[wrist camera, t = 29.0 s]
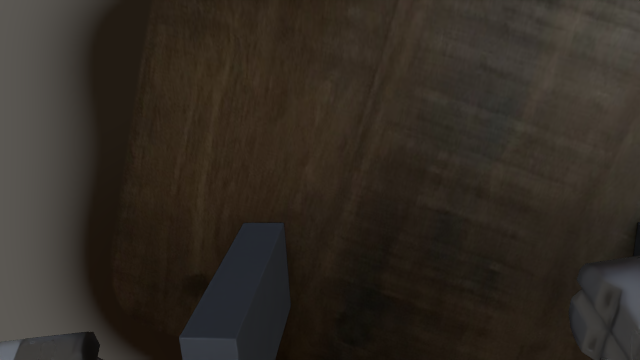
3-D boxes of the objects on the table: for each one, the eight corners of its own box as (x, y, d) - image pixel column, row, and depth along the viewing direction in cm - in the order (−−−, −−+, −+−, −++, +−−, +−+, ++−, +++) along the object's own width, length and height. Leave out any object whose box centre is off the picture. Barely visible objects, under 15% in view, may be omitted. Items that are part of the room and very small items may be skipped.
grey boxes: (252, 305, 45) (195, 446, 32) (243, 222, 43) (178, 337, 30) (670, 312, 42) (796, 474, 29) (686, 221, 39) (831, 353, 26)
